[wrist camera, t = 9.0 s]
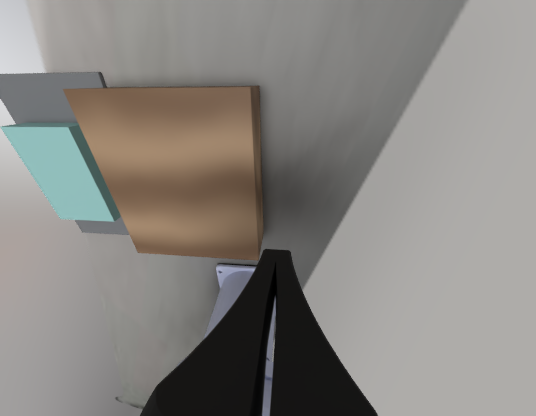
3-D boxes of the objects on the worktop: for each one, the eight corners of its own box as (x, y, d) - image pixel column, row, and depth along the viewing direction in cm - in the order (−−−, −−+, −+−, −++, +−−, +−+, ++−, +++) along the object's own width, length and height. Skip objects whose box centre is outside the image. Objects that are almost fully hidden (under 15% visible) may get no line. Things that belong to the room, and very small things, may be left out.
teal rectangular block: (60, 219, 21) (77, 208, 23) (114, 221, 21) (127, 211, 22) (0, 126, 17) (27, 122, 18) (68, 127, 16) (89, 122, 18)
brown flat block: (263, 233, 23) (258, 260, 19) (159, 228, 24) (138, 252, 20) (259, 85, 15) (250, 87, 12) (109, 87, 16) (62, 88, 13)
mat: (160, 234, 24) (158, 236, 24) (84, 230, 25) (82, 232, 25) (100, 72, 16) (97, 72, 16) (-10, 74, 17) (-15, 74, 16)
